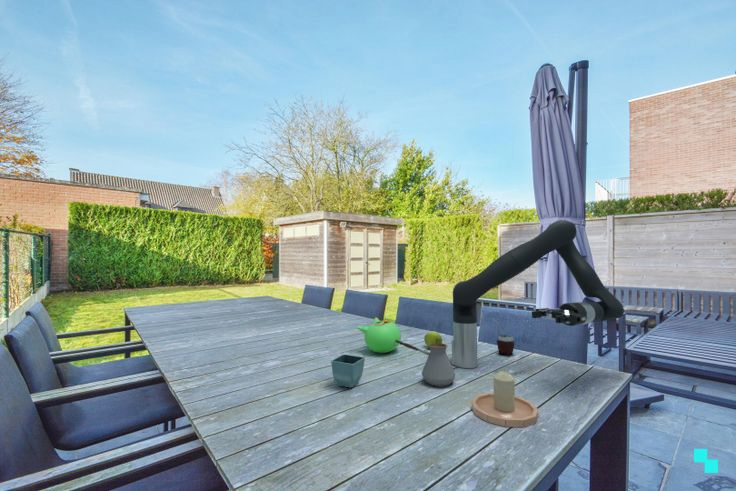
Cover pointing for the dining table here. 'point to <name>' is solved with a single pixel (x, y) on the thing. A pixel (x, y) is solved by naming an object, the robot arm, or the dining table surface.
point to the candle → (504, 392)
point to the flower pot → (347, 369)
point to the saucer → (518, 418)
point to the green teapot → (381, 336)
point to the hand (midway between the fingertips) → (544, 317)
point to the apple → (432, 338)
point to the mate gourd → (505, 344)
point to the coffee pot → (435, 364)
